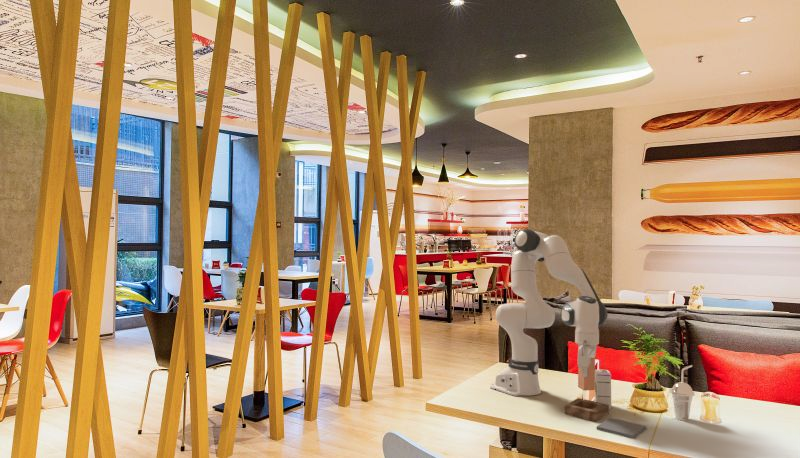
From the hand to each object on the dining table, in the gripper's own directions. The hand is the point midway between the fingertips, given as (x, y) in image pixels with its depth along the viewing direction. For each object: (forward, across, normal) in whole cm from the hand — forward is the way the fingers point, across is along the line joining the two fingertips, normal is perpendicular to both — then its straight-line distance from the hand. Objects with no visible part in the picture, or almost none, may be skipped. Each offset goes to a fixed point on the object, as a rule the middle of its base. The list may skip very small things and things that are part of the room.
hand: (586, 374), depth 215 cm
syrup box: (+16, +12, -5) cm, 20 cm away
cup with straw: (+16, +12, -34) cm, 39 cm away
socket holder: (+15, 0, 0) cm, 16 cm away
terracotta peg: (+6, 0, 0) cm, 6 cm away
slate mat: (+15, -11, -14) cm, 24 cm away
